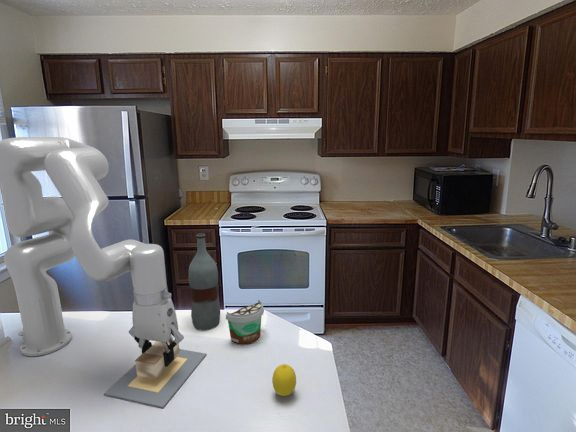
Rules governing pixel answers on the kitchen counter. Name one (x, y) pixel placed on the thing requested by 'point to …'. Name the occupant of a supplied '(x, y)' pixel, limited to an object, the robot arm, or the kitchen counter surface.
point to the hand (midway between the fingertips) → (158, 360)
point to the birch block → (153, 361)
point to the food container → (245, 324)
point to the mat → (156, 382)
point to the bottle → (204, 288)
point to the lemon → (284, 380)
